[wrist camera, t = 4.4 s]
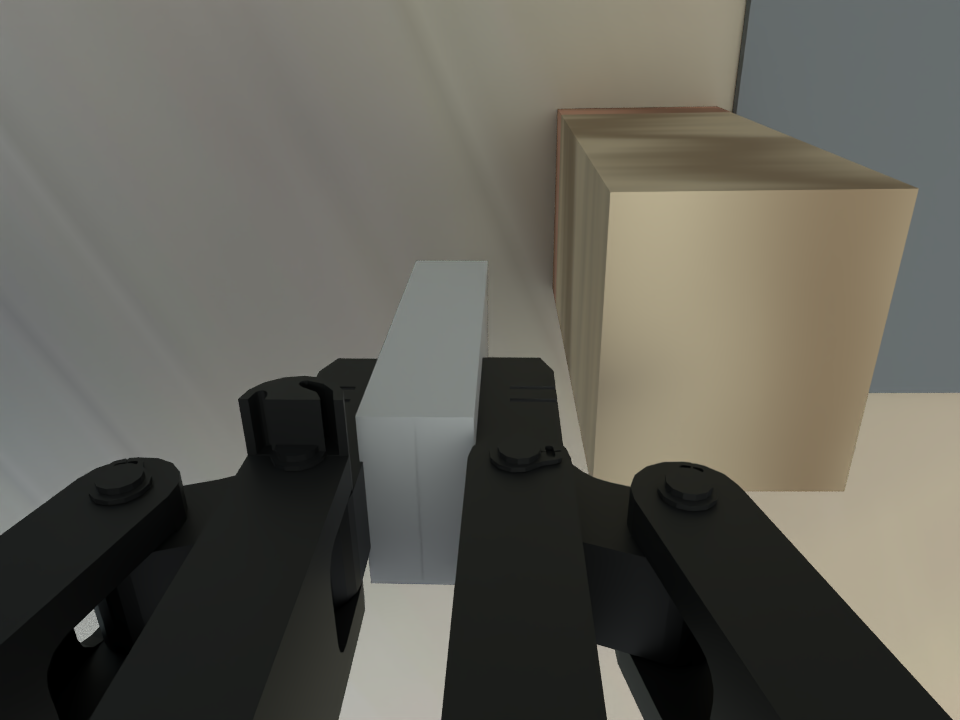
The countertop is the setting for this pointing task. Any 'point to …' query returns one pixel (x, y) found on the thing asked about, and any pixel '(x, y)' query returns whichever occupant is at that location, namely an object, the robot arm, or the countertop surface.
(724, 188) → the oak block
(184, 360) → the countertop surface
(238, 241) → the countertop surface
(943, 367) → the mat
